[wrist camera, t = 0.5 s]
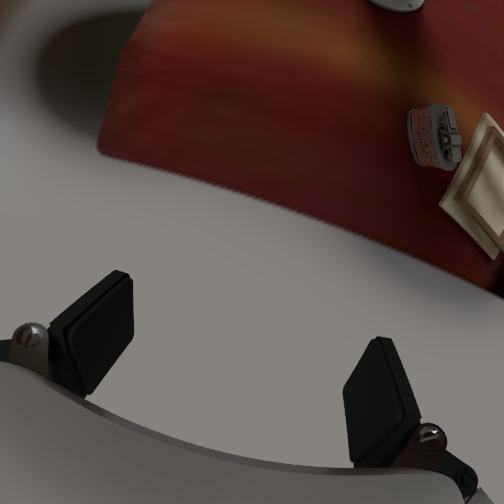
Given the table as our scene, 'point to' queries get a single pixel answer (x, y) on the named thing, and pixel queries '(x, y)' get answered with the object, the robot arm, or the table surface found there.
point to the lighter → (434, 136)
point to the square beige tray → (480, 188)
